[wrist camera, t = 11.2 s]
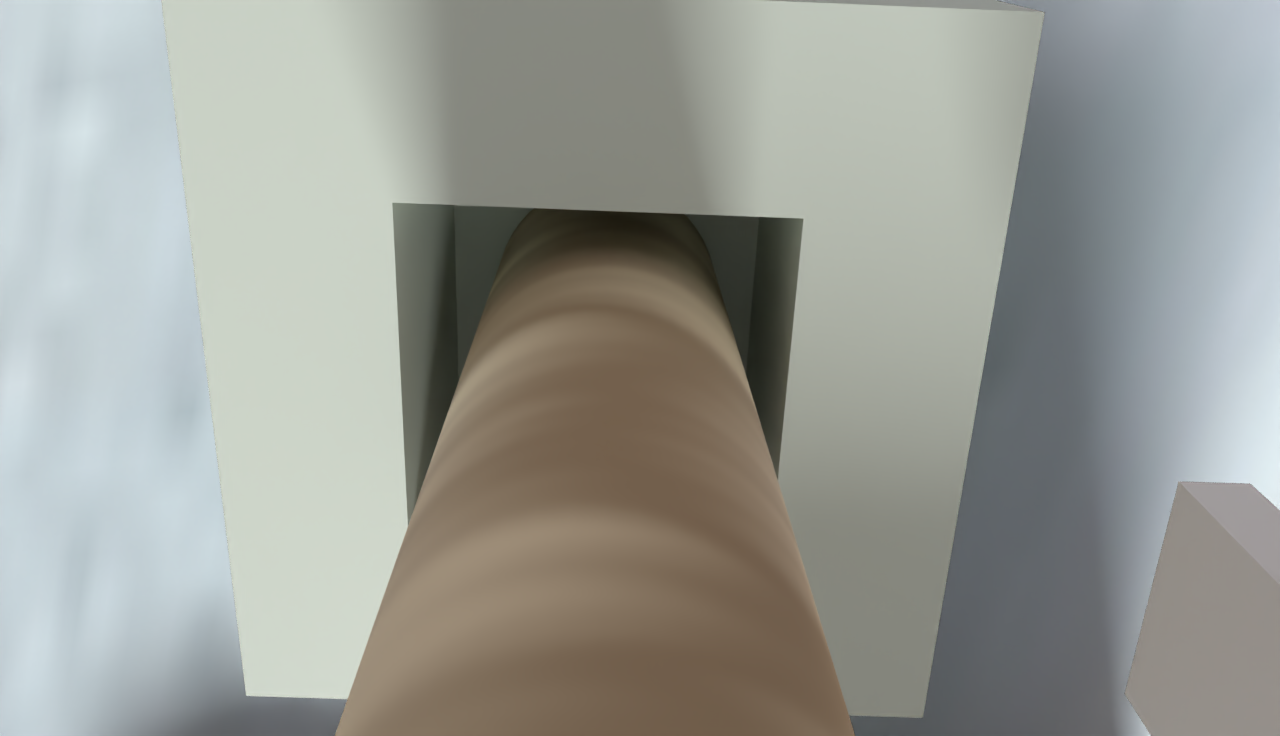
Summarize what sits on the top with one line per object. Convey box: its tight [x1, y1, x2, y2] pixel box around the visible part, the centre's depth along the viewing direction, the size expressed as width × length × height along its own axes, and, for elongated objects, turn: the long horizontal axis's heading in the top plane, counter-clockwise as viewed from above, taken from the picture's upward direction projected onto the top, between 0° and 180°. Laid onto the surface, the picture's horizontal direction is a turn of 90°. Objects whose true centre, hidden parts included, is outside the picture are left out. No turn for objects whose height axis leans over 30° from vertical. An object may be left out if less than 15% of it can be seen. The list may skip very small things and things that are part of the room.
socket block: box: [161, 0, 1045, 718], centre depth 18 cm, size 11×11×6 cm
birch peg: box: [335, 208, 855, 736], centre depth 13 cm, size 4×4×15 cm
